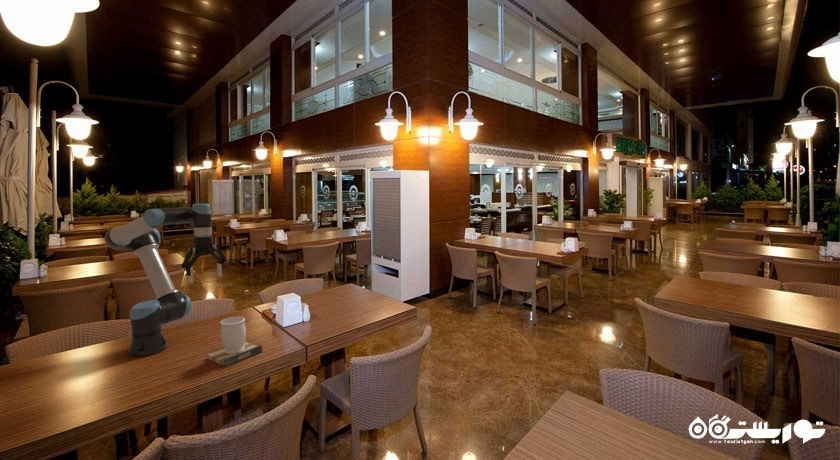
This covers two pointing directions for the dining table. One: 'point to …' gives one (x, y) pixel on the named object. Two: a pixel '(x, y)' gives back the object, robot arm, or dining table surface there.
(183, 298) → the robot arm
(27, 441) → the dining table surface
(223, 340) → the jar
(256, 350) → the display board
